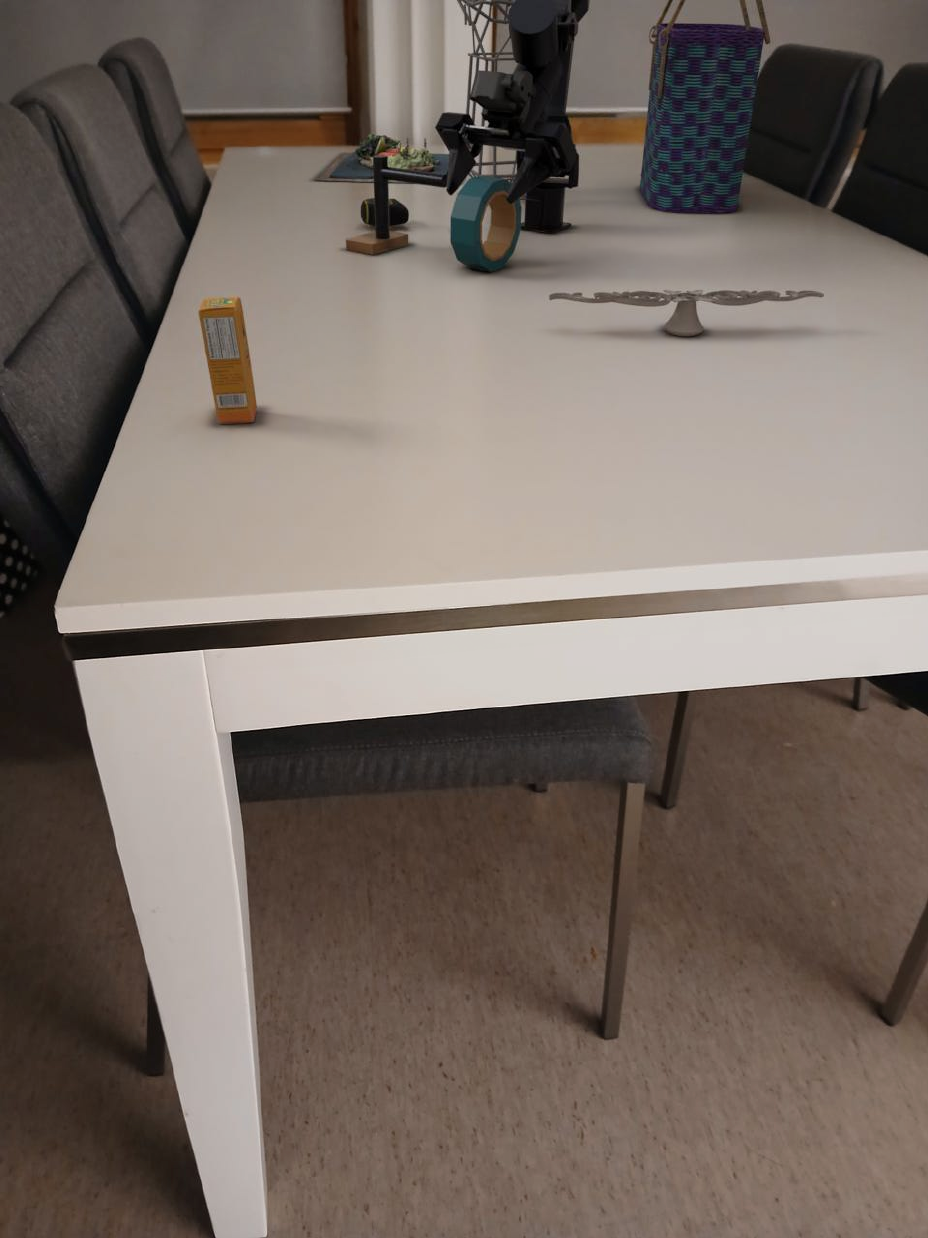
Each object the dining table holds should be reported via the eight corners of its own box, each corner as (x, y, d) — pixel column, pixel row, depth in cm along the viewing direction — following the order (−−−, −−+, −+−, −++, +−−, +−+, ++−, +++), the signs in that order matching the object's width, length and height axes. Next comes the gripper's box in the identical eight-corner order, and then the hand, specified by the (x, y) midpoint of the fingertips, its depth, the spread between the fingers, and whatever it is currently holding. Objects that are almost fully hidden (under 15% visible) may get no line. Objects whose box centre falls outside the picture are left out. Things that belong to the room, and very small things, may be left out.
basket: (748, 214, 161) (797, -82, 139) (643, 211, 162) (675, -83, 140) (721, 186, 183) (759, -74, 161) (629, 184, 183) (654, -75, 161)
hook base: (381, 239, 142) (381, 229, 141) (408, 244, 140) (408, 233, 139) (346, 249, 137) (345, 238, 136) (373, 255, 134) (372, 243, 133)
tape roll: (496, 257, 134) (499, 171, 128) (519, 261, 132) (523, 174, 126) (450, 273, 126) (450, 182, 120) (473, 278, 125) (475, 186, 119)
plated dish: (462, 184, 181) (462, 140, 177) (314, 183, 182) (310, 140, 178) (469, 157, 210) (469, 119, 206) (341, 157, 211) (338, 119, 207)
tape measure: (410, 230, 148) (410, 203, 146) (366, 232, 146) (365, 205, 144) (399, 220, 153) (398, 195, 151) (356, 222, 152) (355, 197, 150)
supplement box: (218, 410, 86) (203, 295, 80) (257, 409, 86) (245, 295, 81) (213, 424, 83) (197, 307, 78) (254, 424, 83) (240, 306, 78)
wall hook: (823, 340, 106) (833, 301, 104) (549, 339, 104) (553, 299, 101) (808, 325, 110) (817, 287, 107) (543, 323, 108) (546, 285, 105)
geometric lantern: (528, 188, 178) (539, -41, 159) (563, 204, 166) (579, -42, 146) (447, 192, 174) (448, -43, 154) (477, 209, 161) (481, -44, 142)
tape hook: (382, 245, 139) (379, 154, 132) (449, 258, 133) (449, 163, 127) (373, 248, 138) (369, 156, 131) (440, 261, 132) (440, 165, 125)
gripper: (443, 39, 122) (391, 145, 120) (572, 46, 113) (517, 160, 111) (477, 105, 131) (429, 204, 130) (598, 116, 123) (548, 222, 121)
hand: (478, 197), depth 123 cm, fingers open, 9 cm apart
